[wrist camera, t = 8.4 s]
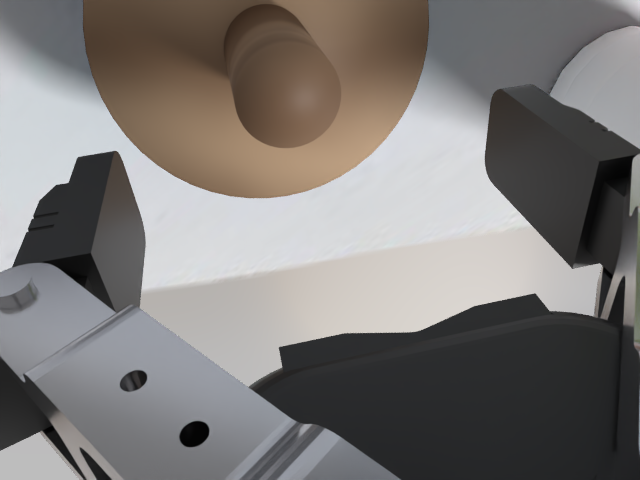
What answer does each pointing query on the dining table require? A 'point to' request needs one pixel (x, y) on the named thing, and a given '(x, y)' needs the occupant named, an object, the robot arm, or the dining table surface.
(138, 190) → the dining table surface
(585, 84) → the bottle
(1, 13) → the dining table surface
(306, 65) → the lid
